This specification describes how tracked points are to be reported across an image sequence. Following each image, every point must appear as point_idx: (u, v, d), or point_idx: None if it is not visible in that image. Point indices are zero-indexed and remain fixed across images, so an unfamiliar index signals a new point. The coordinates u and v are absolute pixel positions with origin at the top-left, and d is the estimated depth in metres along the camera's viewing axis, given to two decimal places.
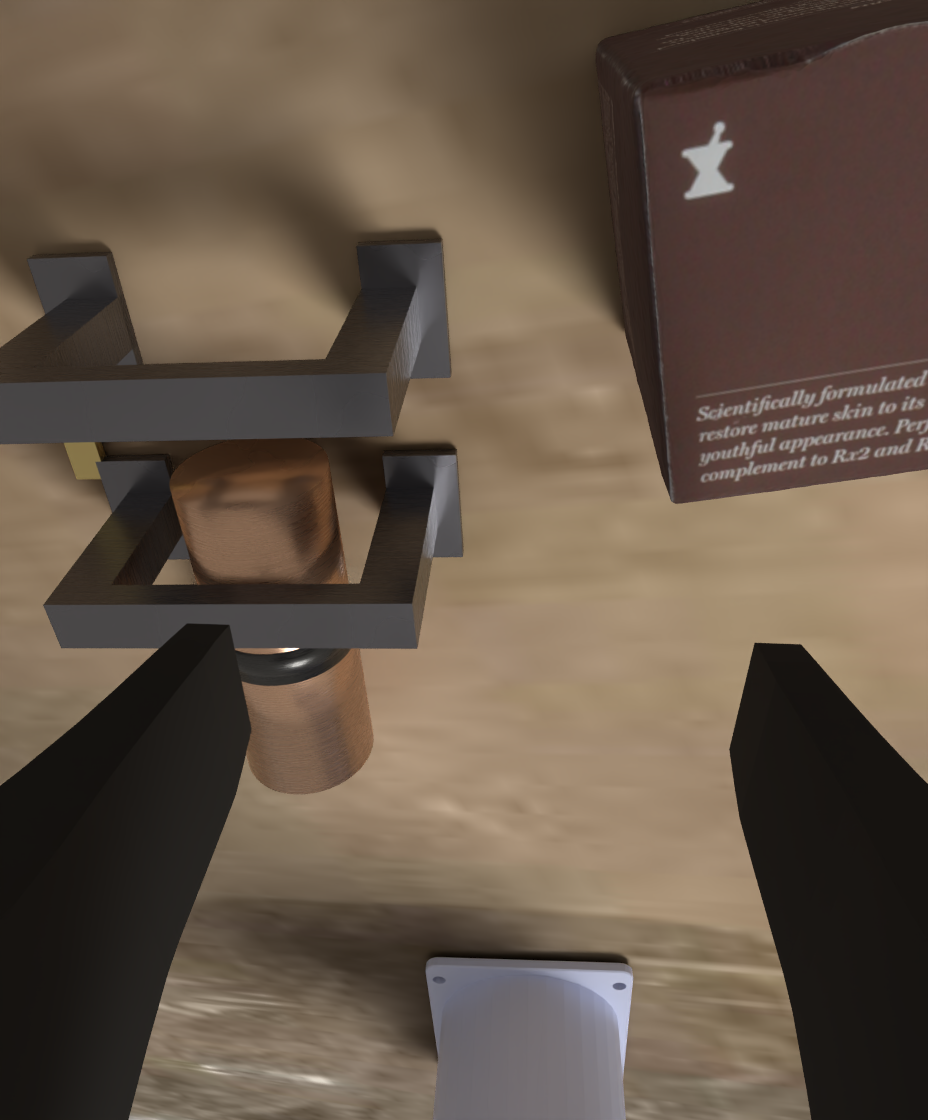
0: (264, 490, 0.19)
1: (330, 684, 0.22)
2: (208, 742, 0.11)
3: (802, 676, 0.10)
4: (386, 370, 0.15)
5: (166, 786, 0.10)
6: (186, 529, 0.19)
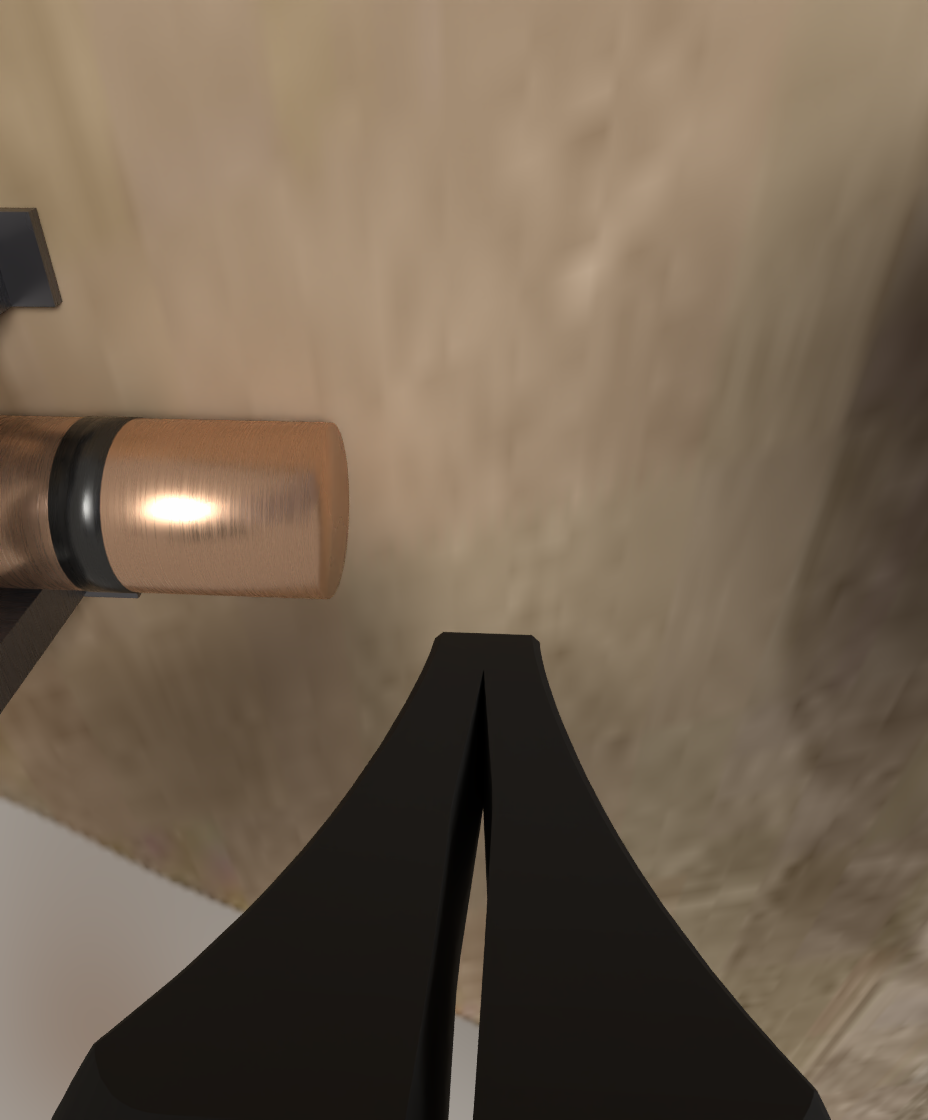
0: None
1: (126, 526, 0.16)
2: (479, 754, 0.11)
3: (512, 665, 0.11)
4: None
5: (466, 800, 0.10)
6: None
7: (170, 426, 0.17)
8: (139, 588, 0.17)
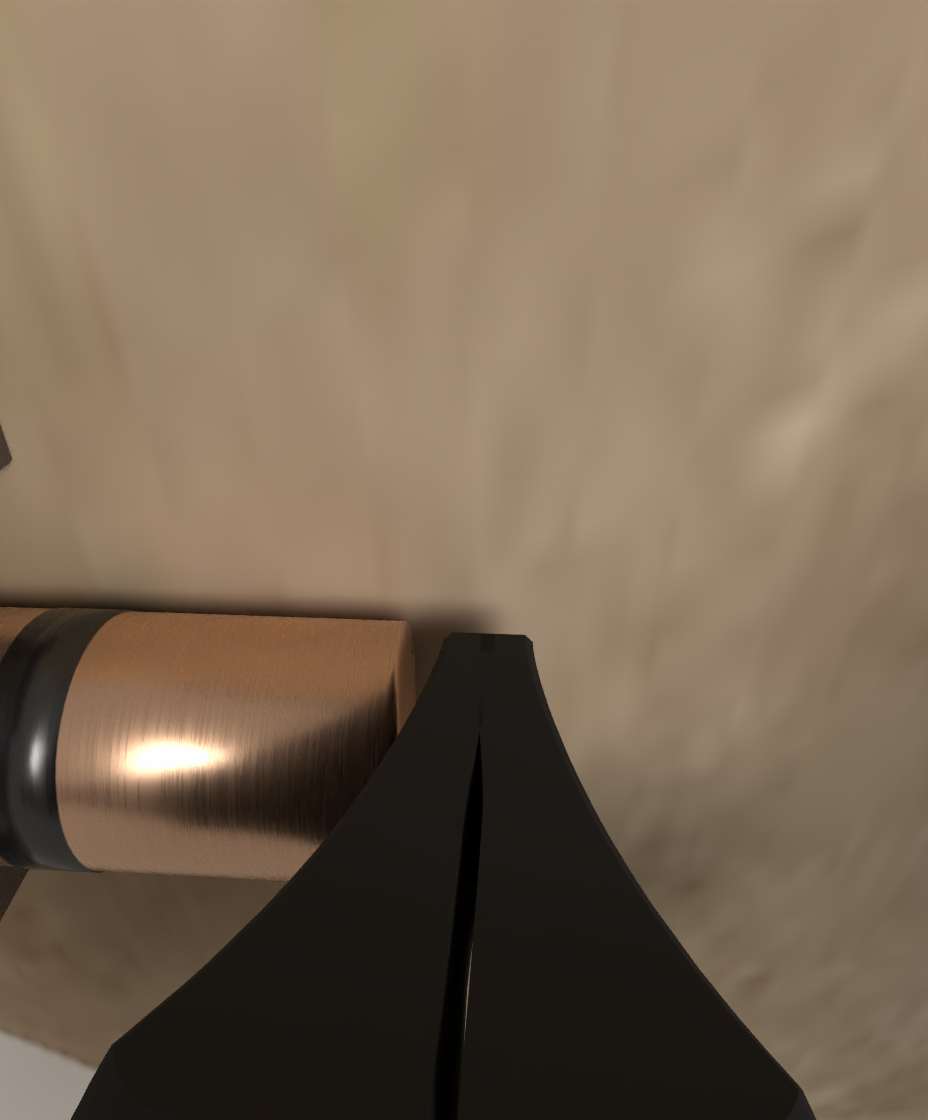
0: None
1: (94, 792, 0.11)
2: None
3: (504, 665, 0.11)
4: None
5: (477, 801, 0.10)
6: None
7: (169, 632, 0.12)
8: (112, 871, 0.12)
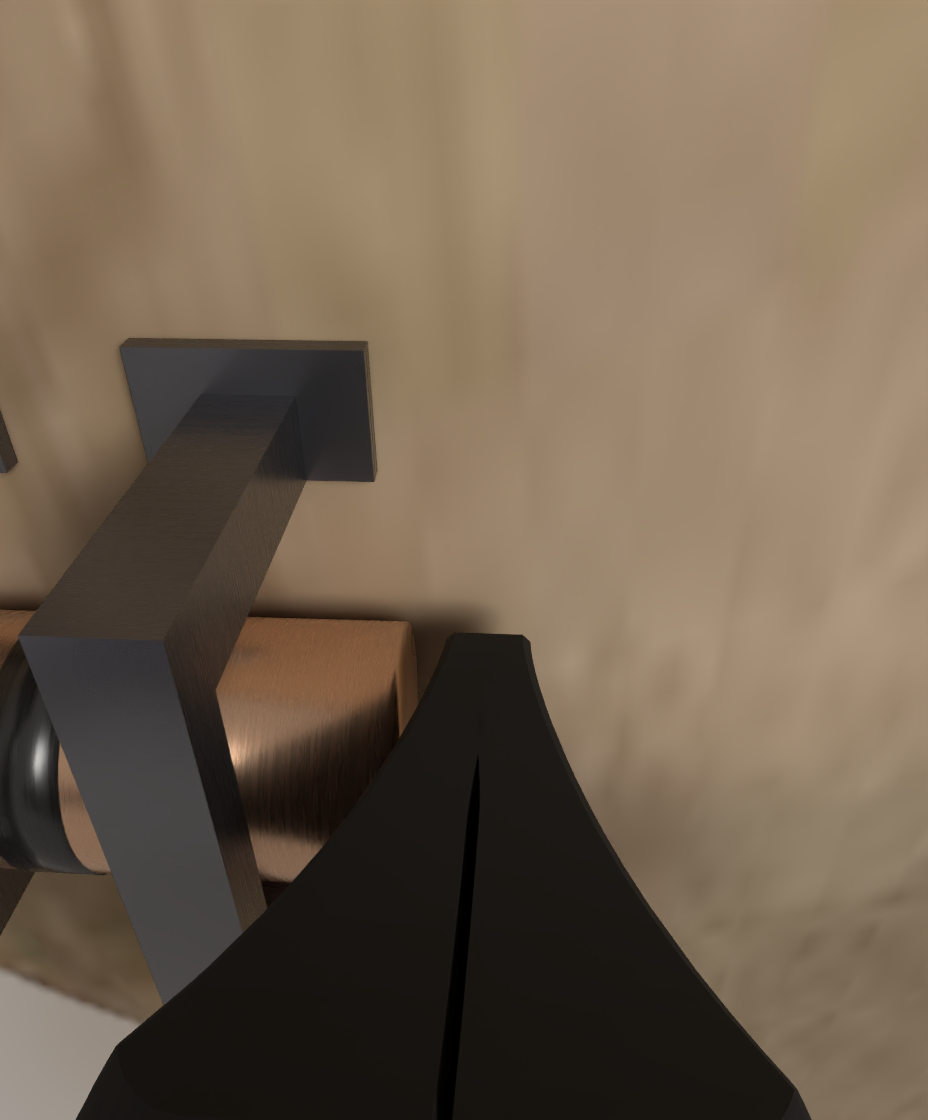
0: None
1: None
2: None
3: (502, 665, 0.11)
4: None
5: None
6: None
7: None
8: None
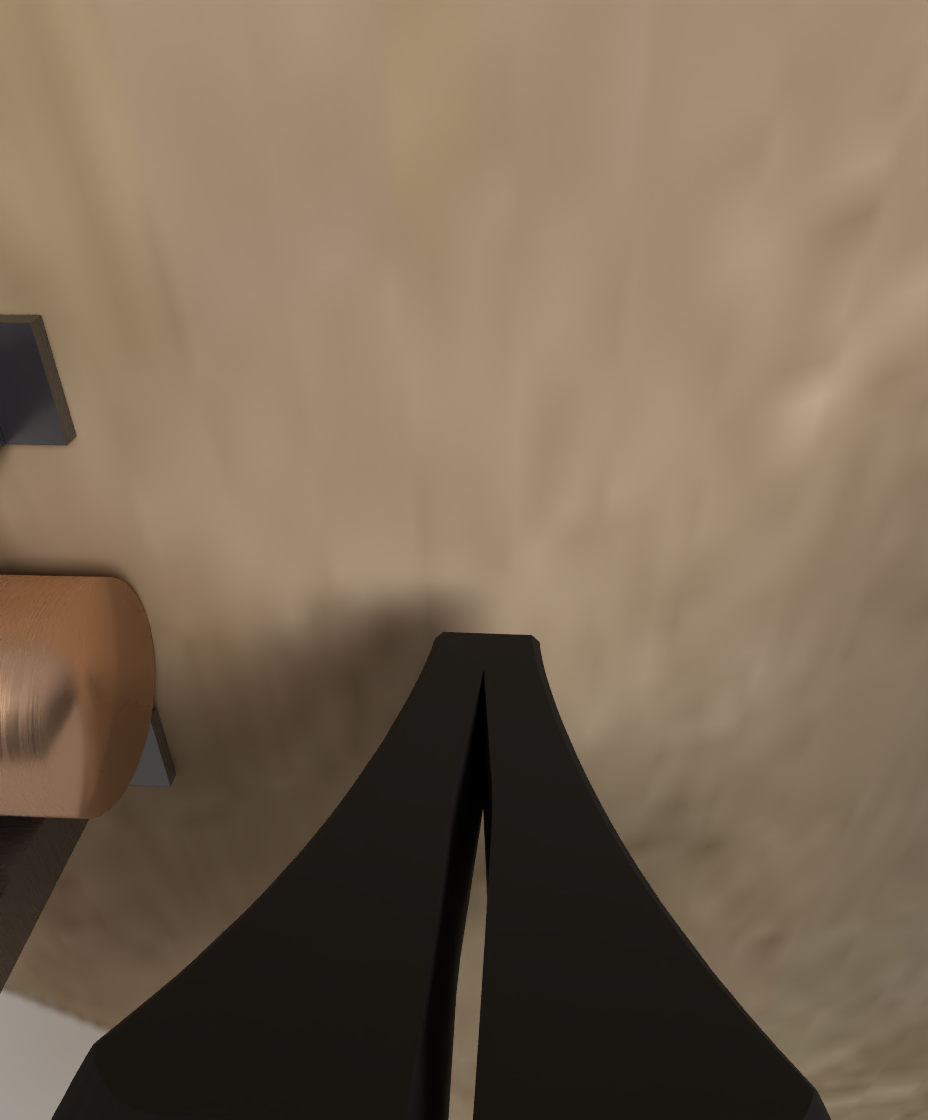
0: None
1: None
2: (479, 754, 0.11)
3: (512, 665, 0.11)
4: None
5: (466, 800, 0.10)
6: None
7: None
8: None
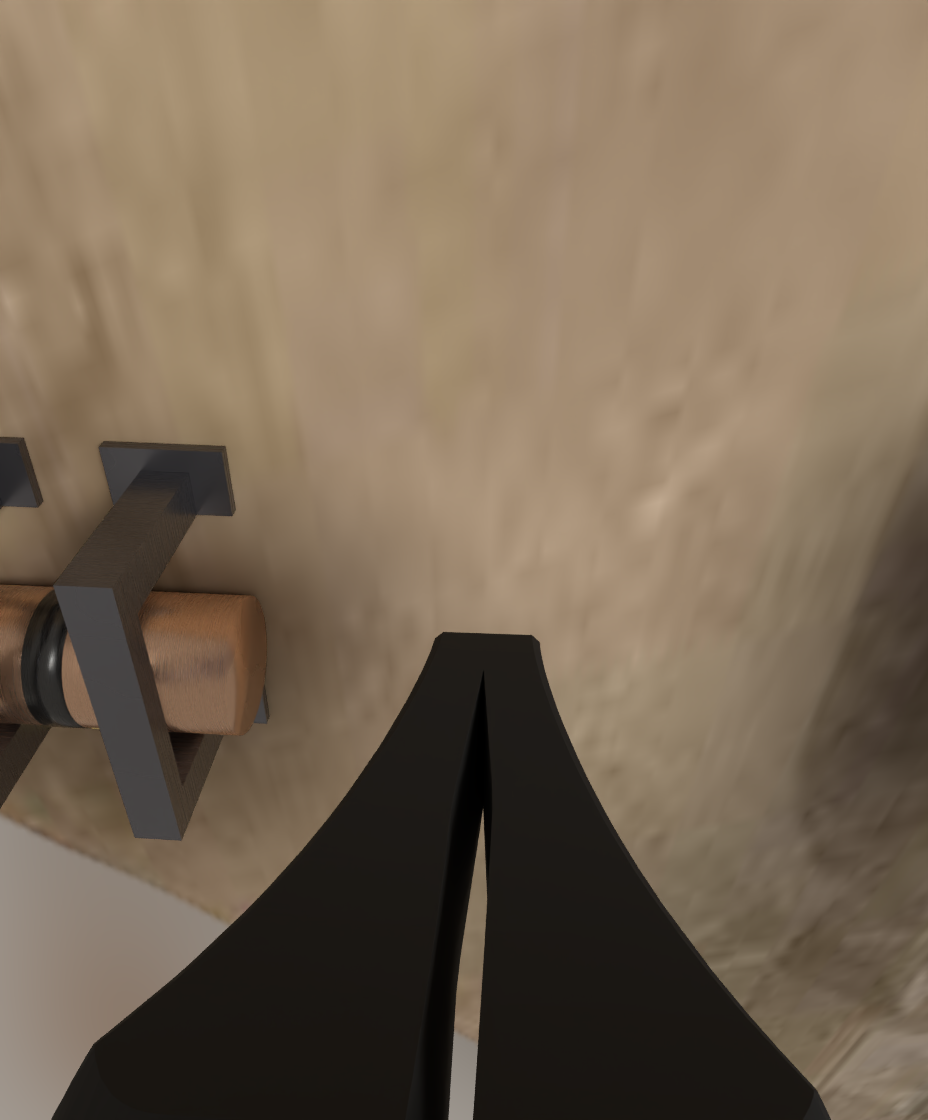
0: None
1: (81, 684, 0.21)
2: (479, 754, 0.11)
3: (512, 665, 0.11)
4: None
5: (466, 800, 0.10)
6: None
7: None
8: (92, 726, 0.22)
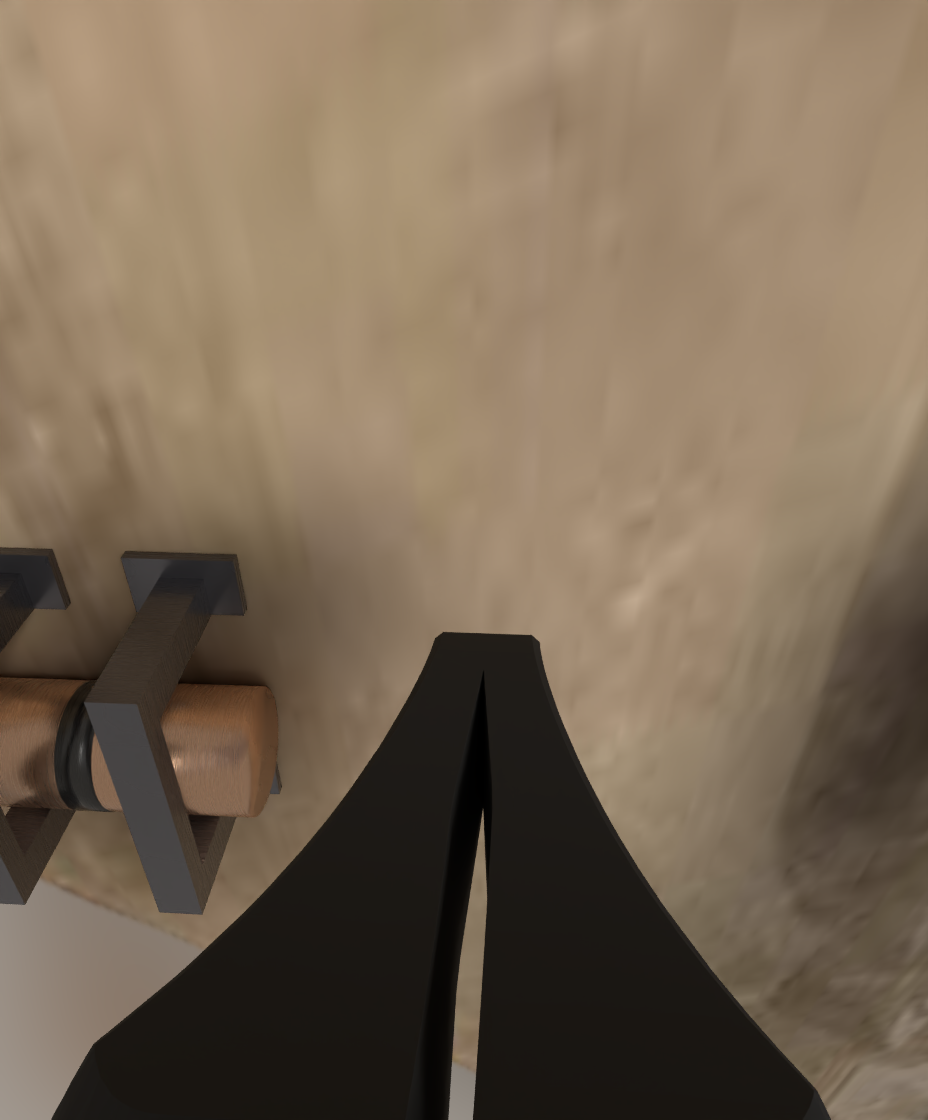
0: None
1: (110, 778, 0.23)
2: (480, 754, 0.11)
3: (511, 665, 0.11)
4: None
5: (467, 800, 0.10)
6: None
7: None
8: (120, 811, 0.24)
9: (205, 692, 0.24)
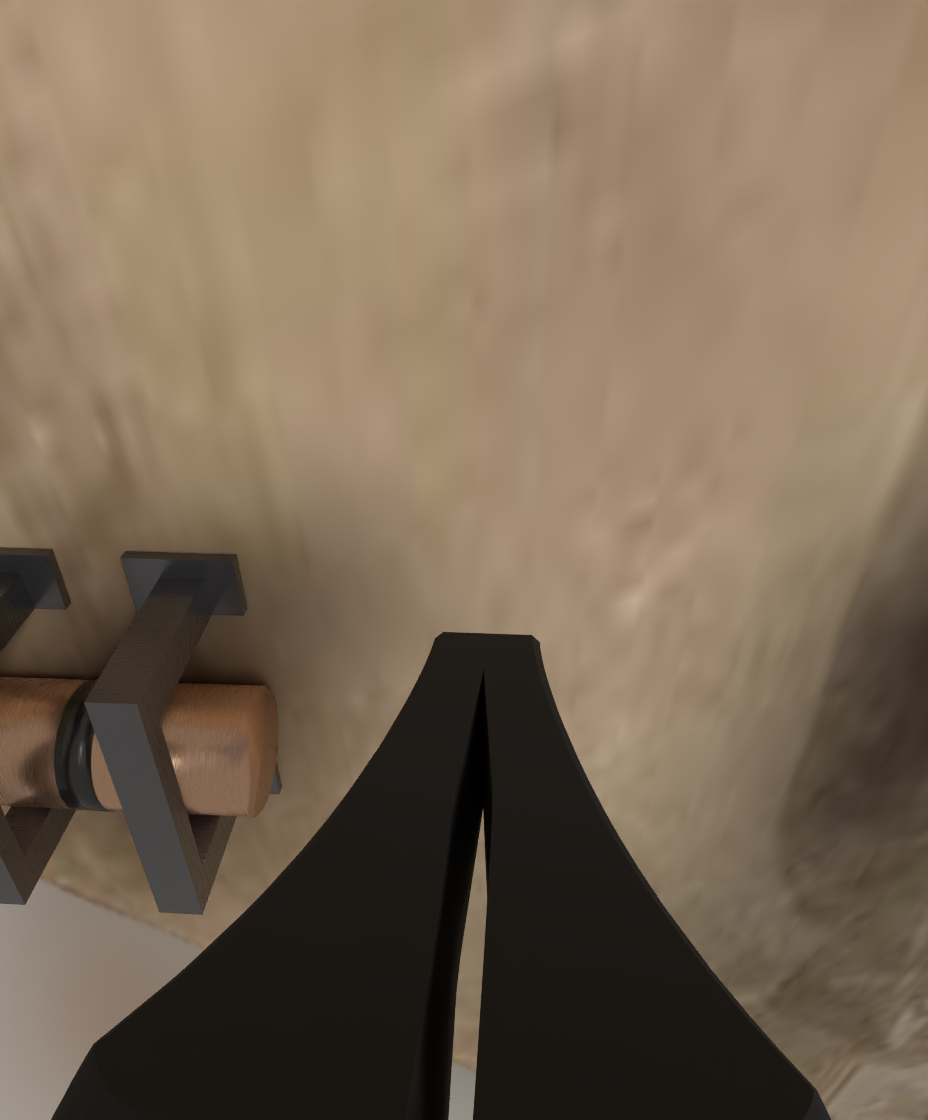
0: None
1: (109, 776, 0.23)
2: (480, 754, 0.11)
3: (511, 665, 0.11)
4: None
5: (467, 800, 0.10)
6: None
7: None
8: (120, 810, 0.24)
9: (205, 691, 0.24)
